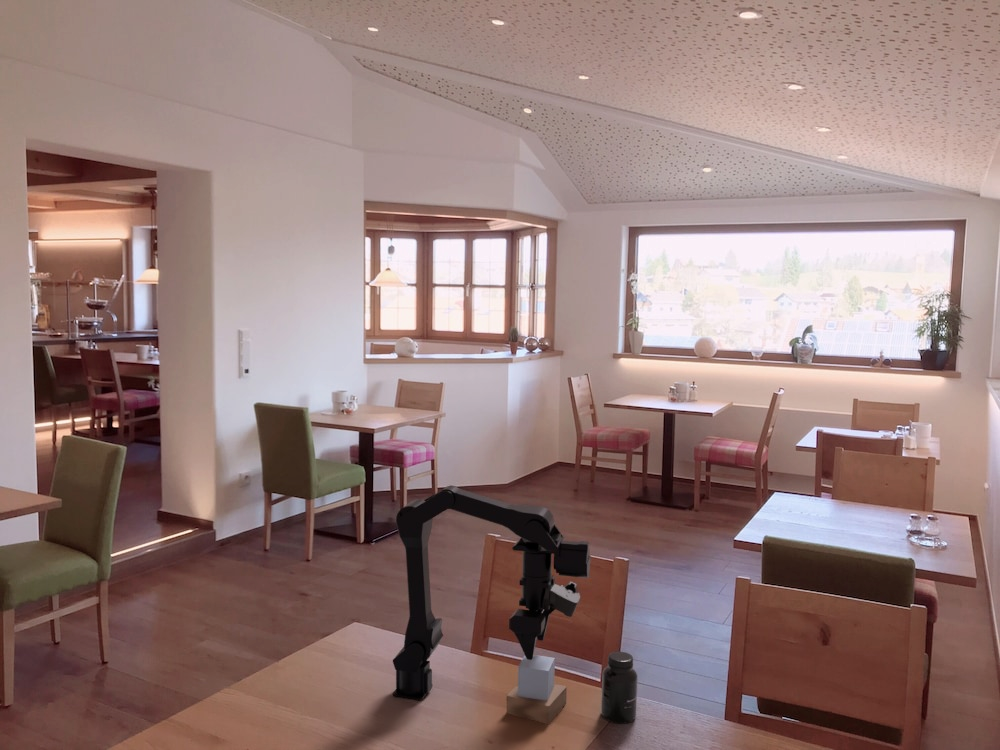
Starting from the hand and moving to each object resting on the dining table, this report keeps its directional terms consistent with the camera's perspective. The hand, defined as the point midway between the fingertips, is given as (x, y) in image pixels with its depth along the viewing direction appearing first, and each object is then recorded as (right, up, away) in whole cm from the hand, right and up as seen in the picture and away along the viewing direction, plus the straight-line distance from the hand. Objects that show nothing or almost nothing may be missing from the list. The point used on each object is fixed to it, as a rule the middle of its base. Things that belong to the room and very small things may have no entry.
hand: (535, 649), depth 158 cm
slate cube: (0, -8, 0) cm, 8 cm away
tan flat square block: (0, -12, +1) cm, 12 cm away
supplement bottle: (+16, -13, -2) cm, 21 cm away
